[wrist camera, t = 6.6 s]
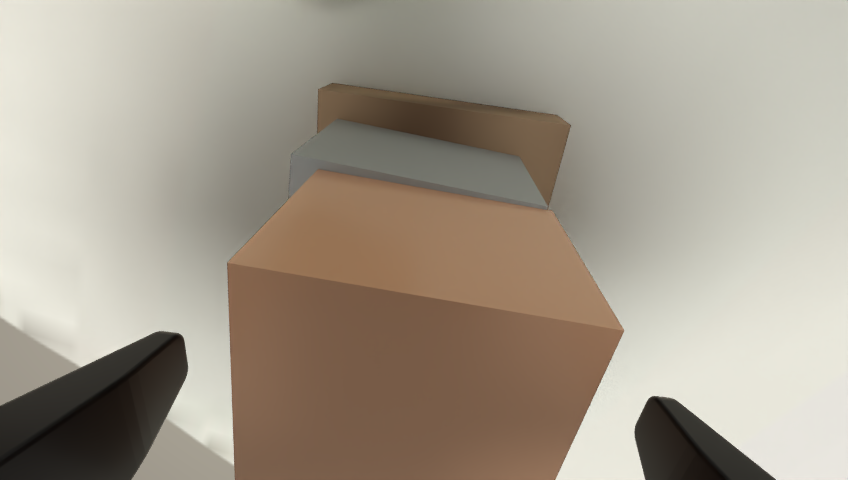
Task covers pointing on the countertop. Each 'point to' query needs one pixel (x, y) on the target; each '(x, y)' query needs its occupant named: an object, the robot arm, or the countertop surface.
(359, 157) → the grey block
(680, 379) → the countertop surface
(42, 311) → the countertop surface
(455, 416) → the terracotta block
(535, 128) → the walnut slab
